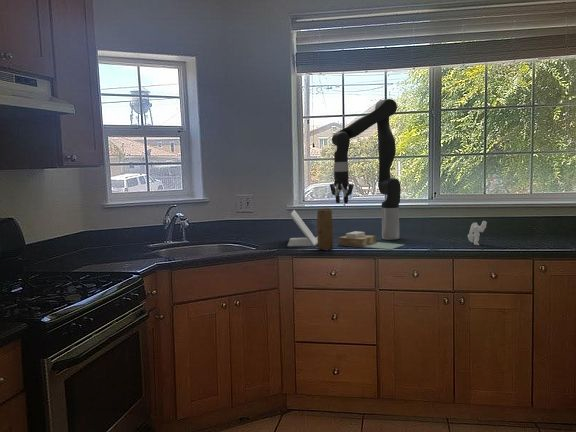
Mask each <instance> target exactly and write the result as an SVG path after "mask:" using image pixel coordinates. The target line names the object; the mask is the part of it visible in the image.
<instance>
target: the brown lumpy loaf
mask: <svg viewBox="0 0 576 432" xmlns="http://www.w3.org/2000/svg"><path fill="white" fill-rule="evenodd" d="M332 213H333V211H332V209H331V208H319V209H318V210H317V214H316V215H317V217H316V219H317V220H316V222H317V223H316V224H317V225H316V230H317V231H316V234H317V236H316V237H318V245H317V246H318V250H320V251H322V250H323V251H328V250H329V251H330V250H332V249H333V248H334V238H333V237H334V236H333V235H334V230H333V228H334V227H333V214H332Z"/></svg>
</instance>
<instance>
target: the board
mask: <svg viewBox="0 0 576 432" xmlns="http://www.w3.org/2000/svg"><path fill="white" fill-rule="evenodd" d="M376 237H377V236H376V235H370V234H369V235H368V234H365V236H362V237H358V238H348V237H346V235H344V236H339V237H338V238H337V239H338V240H337V241H338V246H342V247H352V248H353V247H354V248H364V247H363V246H366V245H370V244H374V243H377V239H376Z"/></svg>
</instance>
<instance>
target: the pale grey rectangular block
mask: <svg viewBox="0 0 576 432" xmlns="http://www.w3.org/2000/svg"><path fill="white" fill-rule="evenodd" d="M365 235H366V232H365V231H351V232H346V233H345V236H346V237H348V238H358V237H362V236H365Z"/></svg>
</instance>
